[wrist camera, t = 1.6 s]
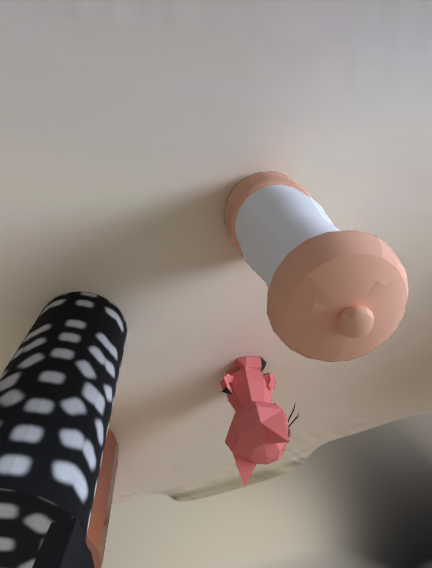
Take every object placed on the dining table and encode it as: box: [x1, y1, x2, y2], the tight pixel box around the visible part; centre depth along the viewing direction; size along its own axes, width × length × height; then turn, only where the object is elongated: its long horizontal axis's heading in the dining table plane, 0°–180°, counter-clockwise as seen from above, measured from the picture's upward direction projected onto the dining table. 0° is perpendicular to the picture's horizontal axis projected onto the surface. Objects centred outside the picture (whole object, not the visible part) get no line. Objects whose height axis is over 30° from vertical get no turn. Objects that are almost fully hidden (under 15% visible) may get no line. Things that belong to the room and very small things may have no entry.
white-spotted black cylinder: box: [0, 292, 127, 568], centre depth 28 cm, size 8×8×20 cm
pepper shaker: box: [225, 172, 408, 362], centre depth 25 cm, size 7×7×19 cm
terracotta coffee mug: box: [86, 428, 118, 568], centre depth 39 cm, size 19×14×12 cm
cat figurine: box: [220, 356, 299, 487], centre depth 36 cm, size 7×7×12 cm
